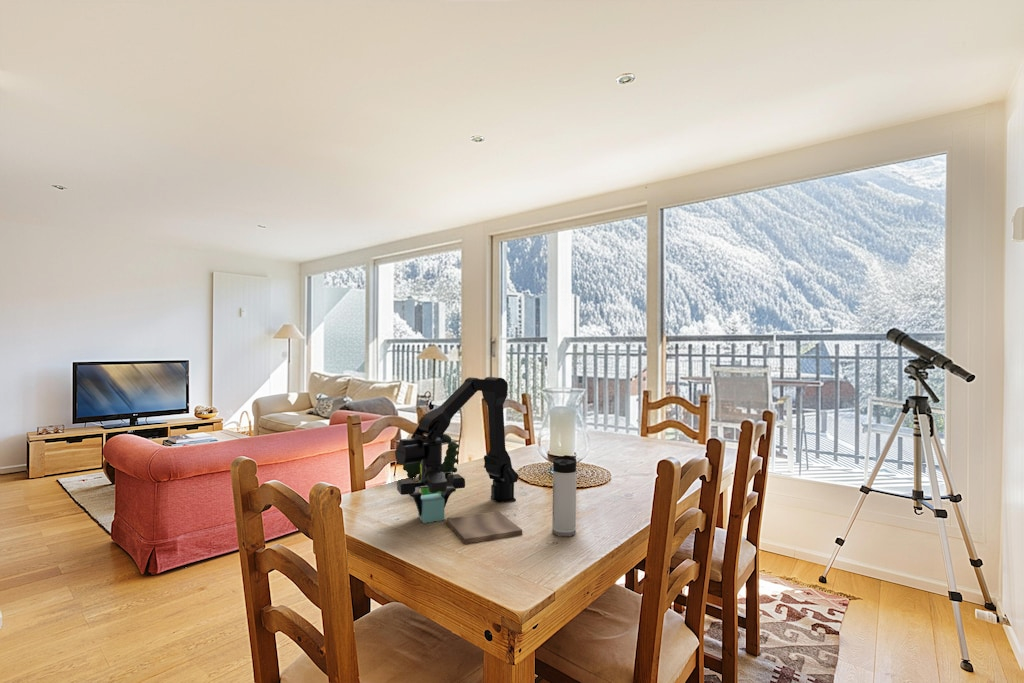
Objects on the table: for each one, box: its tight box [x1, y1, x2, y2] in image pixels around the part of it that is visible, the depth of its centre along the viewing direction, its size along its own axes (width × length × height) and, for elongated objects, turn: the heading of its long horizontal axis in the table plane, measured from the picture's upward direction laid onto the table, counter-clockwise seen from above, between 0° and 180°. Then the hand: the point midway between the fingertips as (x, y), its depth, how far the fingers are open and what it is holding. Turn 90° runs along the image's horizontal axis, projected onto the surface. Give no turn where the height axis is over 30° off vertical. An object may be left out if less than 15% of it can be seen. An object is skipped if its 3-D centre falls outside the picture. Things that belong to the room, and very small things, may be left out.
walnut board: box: [445, 510, 523, 545], centre depth 136 cm, size 16×16×1 cm
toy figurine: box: [402, 433, 460, 481], centre depth 183 cm, size 9×19×25 cm
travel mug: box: [551, 454, 577, 537], centre depth 134 cm, size 6×7×20 cm
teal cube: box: [417, 493, 445, 524], centre depth 143 cm, size 6×6×6 cm
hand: (431, 513), depth 143 cm, fingers closed on teal cube, 6 cm apart
